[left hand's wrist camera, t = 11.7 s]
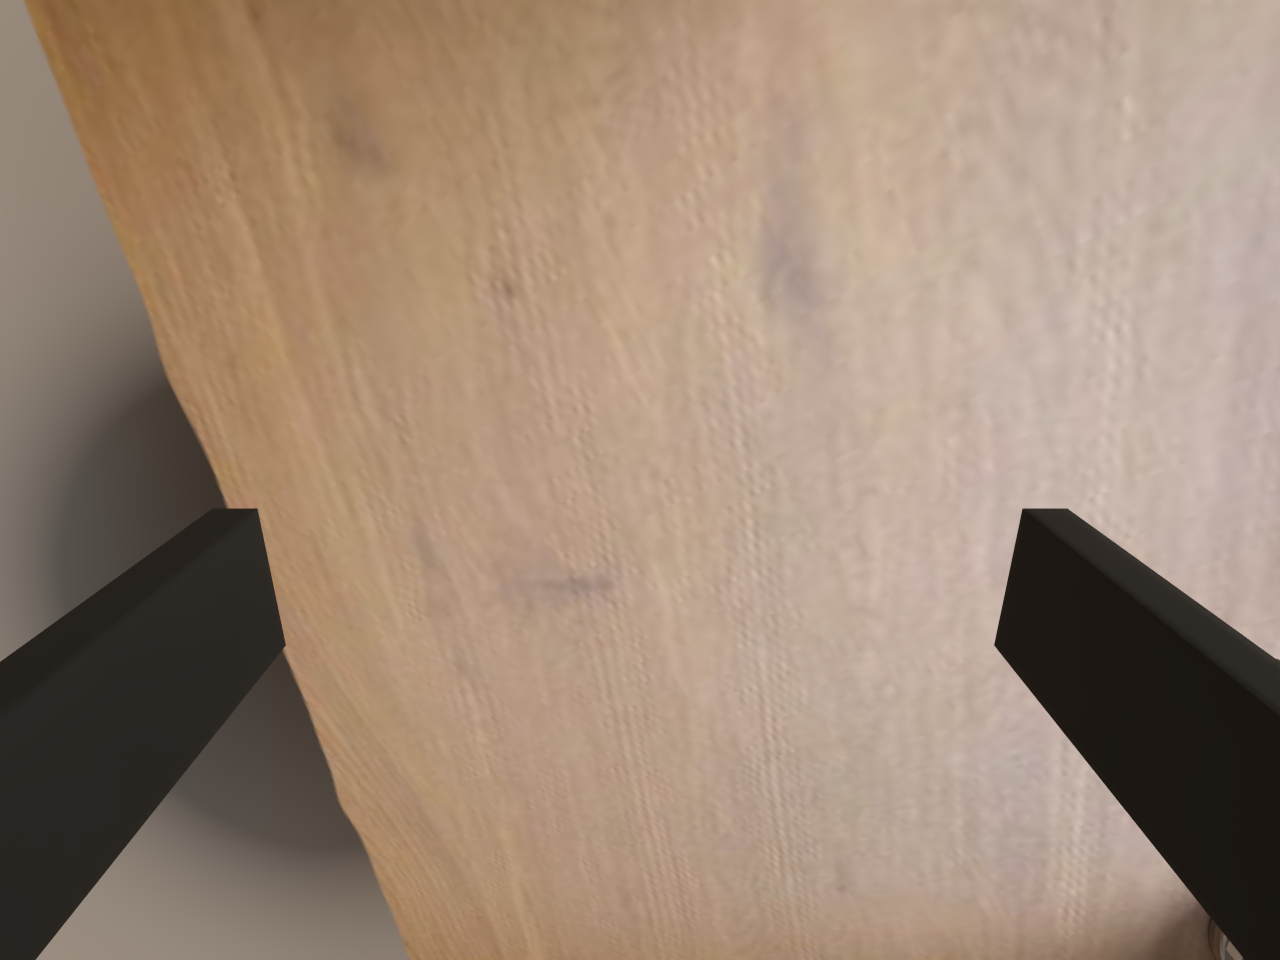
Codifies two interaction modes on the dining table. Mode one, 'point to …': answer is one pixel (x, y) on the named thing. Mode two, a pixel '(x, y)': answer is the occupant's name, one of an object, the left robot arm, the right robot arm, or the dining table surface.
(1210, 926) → the right robot arm
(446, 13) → the dining table surface
